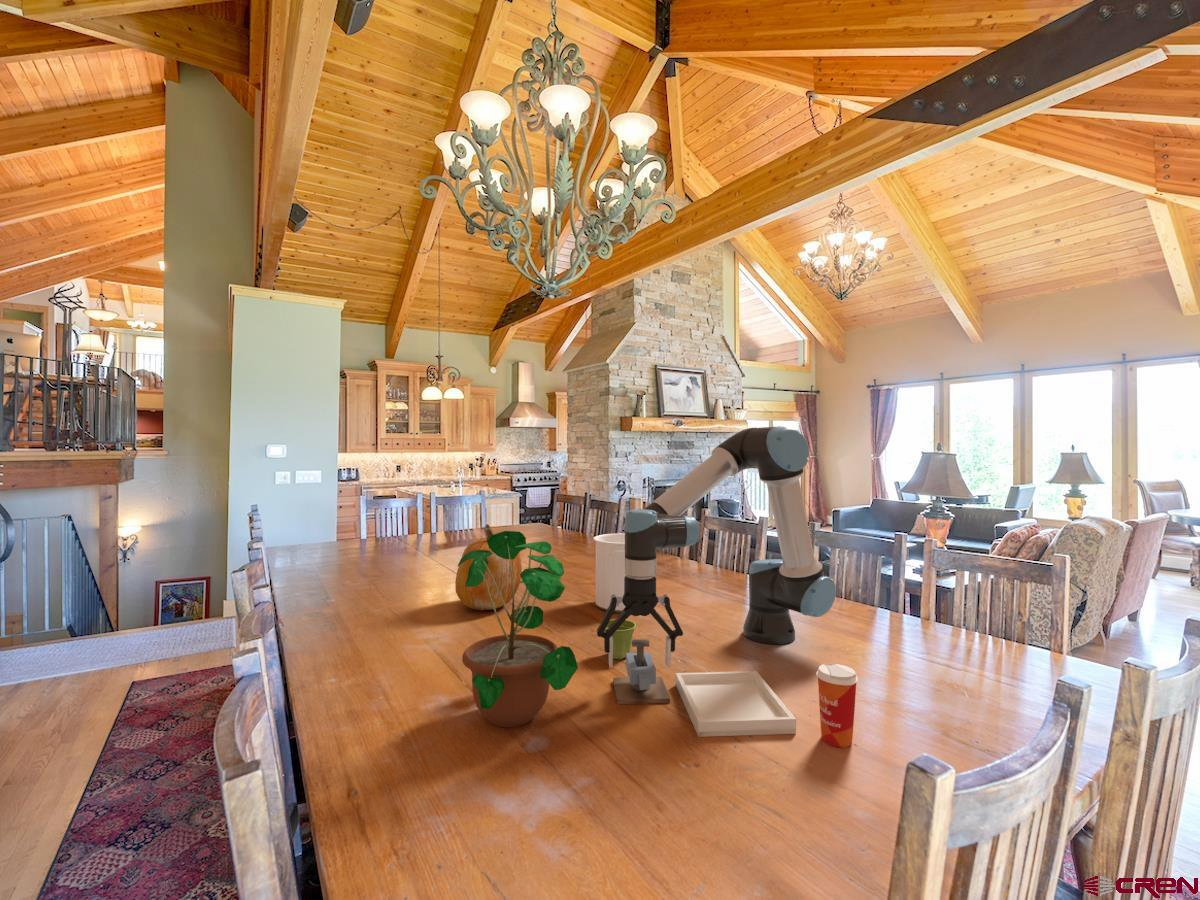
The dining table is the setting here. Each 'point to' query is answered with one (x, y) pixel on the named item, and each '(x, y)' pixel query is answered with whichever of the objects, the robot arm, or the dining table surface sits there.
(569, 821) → the dining table surface
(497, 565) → the pumpkin
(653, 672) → the grey slotted block
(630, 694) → the lever on base
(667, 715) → the dining table surface
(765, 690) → the tray
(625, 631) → the plant pot
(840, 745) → the paper cup
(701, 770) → the dining table surface
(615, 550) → the bucket
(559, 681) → the potted plant
